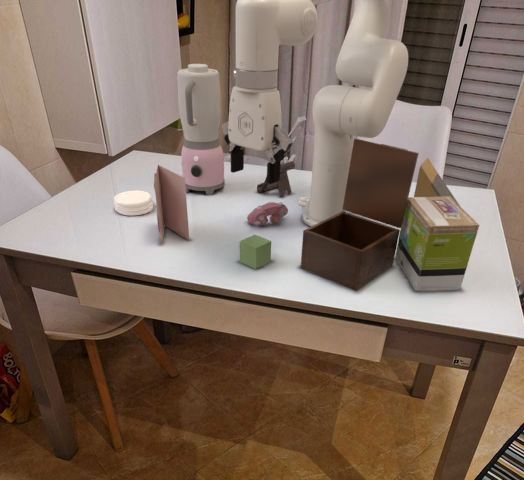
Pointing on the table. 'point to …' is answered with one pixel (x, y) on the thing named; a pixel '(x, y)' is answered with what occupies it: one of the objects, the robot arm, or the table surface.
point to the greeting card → (171, 202)
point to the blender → (201, 128)
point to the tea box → (435, 243)
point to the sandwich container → (431, 182)
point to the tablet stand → (282, 183)
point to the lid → (379, 181)
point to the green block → (255, 251)
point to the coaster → (133, 203)
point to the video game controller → (267, 213)
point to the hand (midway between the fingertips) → (254, 176)
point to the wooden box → (349, 249)
